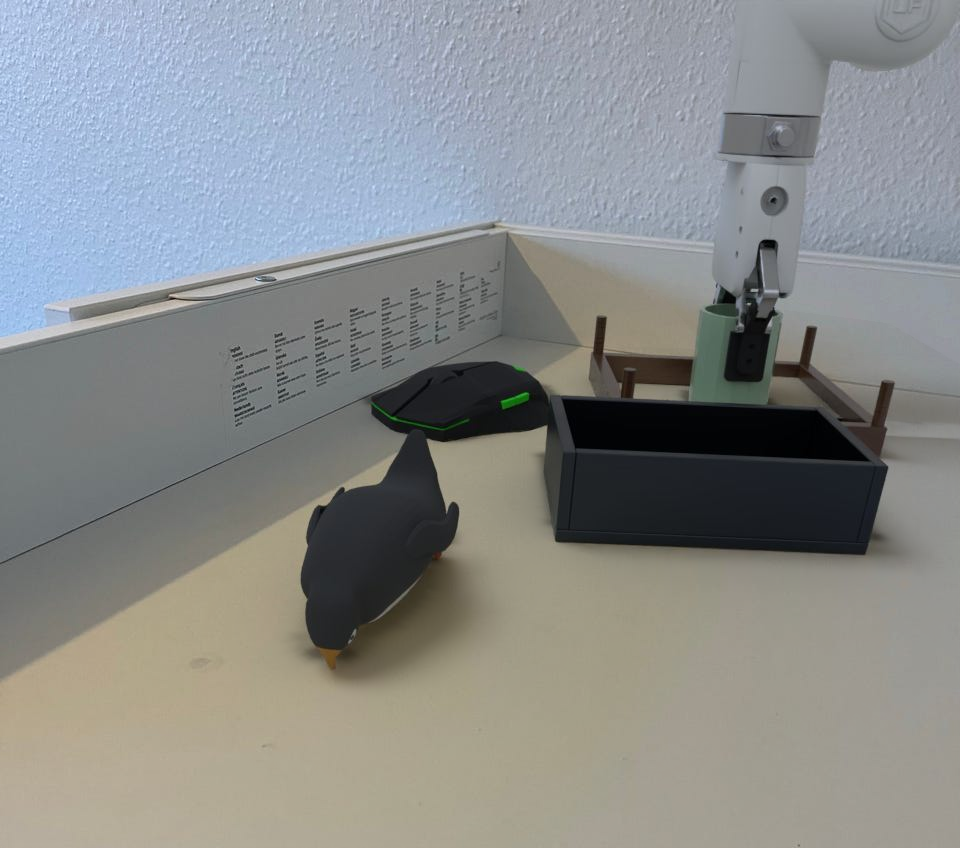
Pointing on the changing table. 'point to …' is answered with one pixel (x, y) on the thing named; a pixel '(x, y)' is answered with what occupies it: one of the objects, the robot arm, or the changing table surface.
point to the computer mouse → (464, 401)
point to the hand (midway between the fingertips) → (732, 367)
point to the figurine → (373, 547)
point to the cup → (713, 355)
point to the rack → (854, 417)
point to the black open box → (708, 475)
